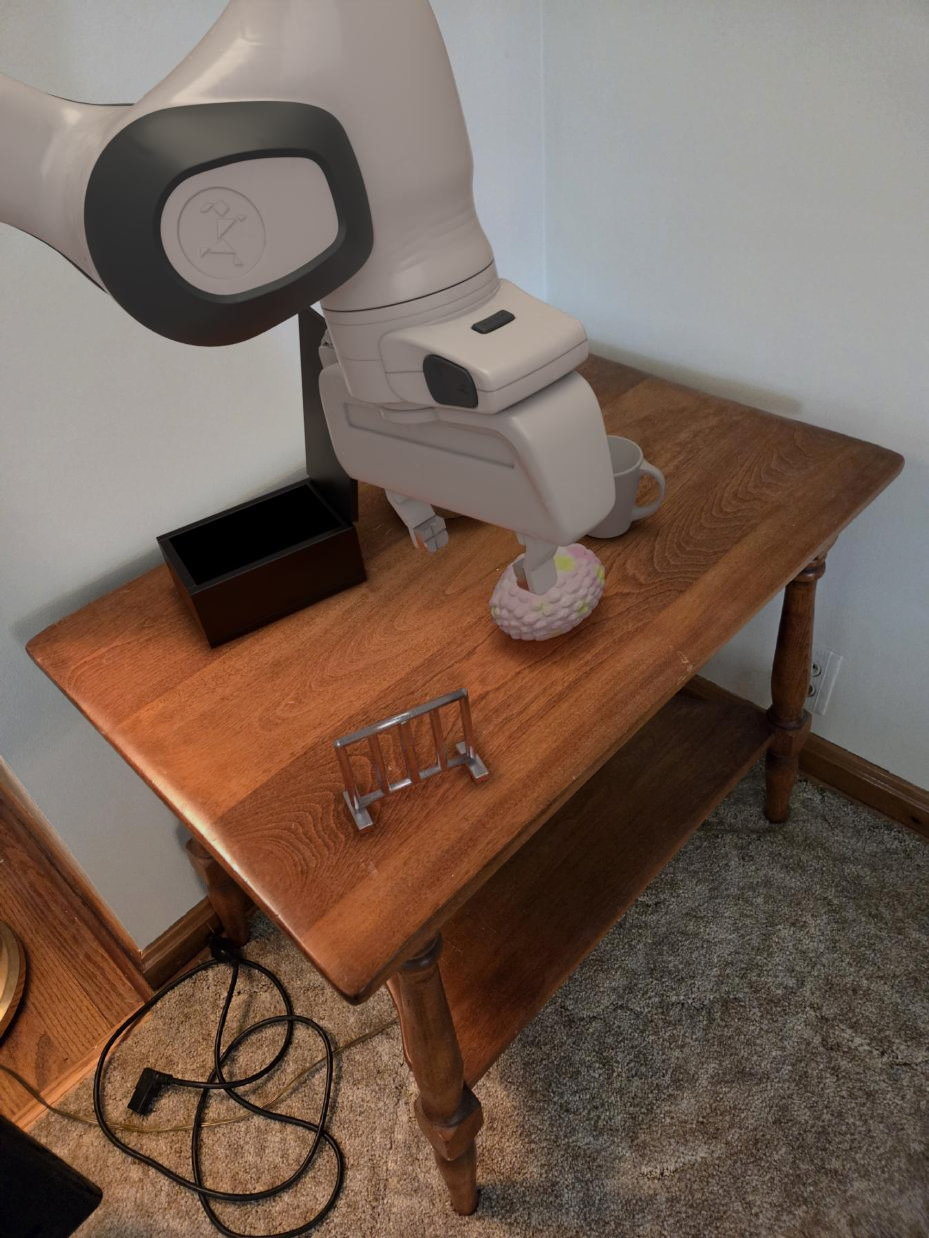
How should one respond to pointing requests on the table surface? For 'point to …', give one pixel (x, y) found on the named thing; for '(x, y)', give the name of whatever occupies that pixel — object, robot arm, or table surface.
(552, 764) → the table surface
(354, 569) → the oven
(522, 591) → the decorative item
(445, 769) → the rack
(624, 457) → the cup
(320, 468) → the oven door
